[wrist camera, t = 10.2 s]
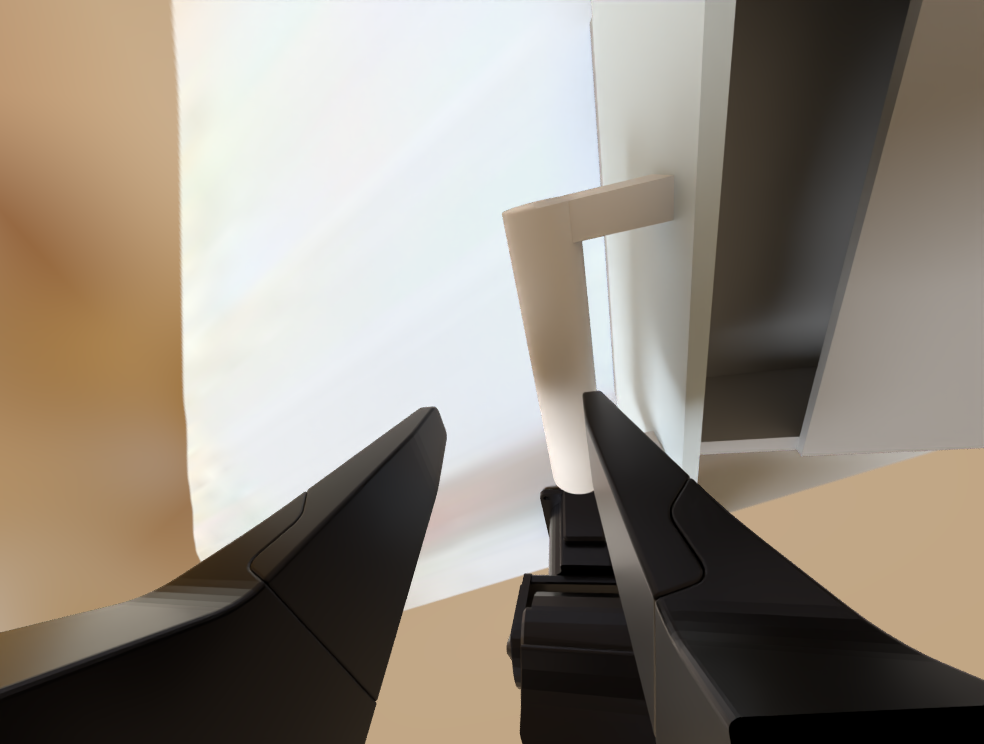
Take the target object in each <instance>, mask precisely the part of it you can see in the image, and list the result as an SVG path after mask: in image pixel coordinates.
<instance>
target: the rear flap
mask: <svg viewBox="0 0 984 744" xmlns="http://www.w3.org/2000/svg"><path fill="white" fill-rule="evenodd" d="M735 7H736V0H591V10H592V26H593V41H594V56H595V72H596V87H597V102H598V118H599V133H600V148H601V164H602V179H603V186H601V187H597V188H593V189H589V190H585V191H581V192H577V193H572V194H568V195H564V196H560V197H554V198H549V199H545V200H540V201H536V202H532V203H528V204H525V205H521V206H518V207H515V208H512V209H509V210H507V211H504V212H503V213H502V217H503V222H504V227H505V232H506V237H507V242H508V247H509V252H510V257H511V263H512V268H513V273H514V278H515V283H516V288H517V293H518V298H519V304H520V309H521V314H522V319H523V324H524V329H525V334H526V339H527V344H528V350H529V355H530V360H531V365H532V370H533V375H534V380H535V385H536V390H537V396H538V401H539V406H540V411H541V416H542V421H543V426H544V431H545V436H546V442H547V447H548V452H549V457H550V462H551V467H552V472H553V477H554V481H555V483H556V484H557V486H558V487H559V488H561V489H562V490H564V491H566V492H568V493H572V494H586V493H589V492H592V491H594V488H593V483H592V476H591V467H590V459H589V451H588V443H587V435H586V427H585V419H584V408H583V398H582V394H583V393H584V392H590V391H597V390H596V379H595V369H594V359H593V349H592V338H591V328H590V318H589V307H588V297H587V287H586V277H585V266H584V256H583V246H582V241H583V240H588V239H592V238H597V237H601V236H606V241H607V256H608V271H609V287H610V302H611V317H612V333H613V348H614V364H615V379H616V394H617V407H618V408H619V409H620V410H621V411H622V412H623V413H624V414H625V415H626V416H627V417H628V418H629V419H630V420H631V421H633V422H634V423H635V424H636V425H637V426H638V427H639V428H640V429H641V430H642V431H643V432H644V433H645V434H646V435H647V436H648V437H649V438H650V439H651V440H652V441H653V442H655V443H656V444H657V445H658V446H659V447H660V448H661V449H662V450H663V451H664V452H665V453H666V454H667V455H668V456H669V457H670V458H671V459H672V460H673V461H674V462H675V463H677V464H678V465H679V466H680V467H681V468H682V469H683V470H684V471H685V472H686V473H687V474H688V475H689V476H690V478H692V479H694V480H695V481H696V482H697V483H698V471H699V458H700V445H701V433H702V420H703V408H704V395H705V383H706V370H707V358H708V345H709V333H710V320H711V308H712V295H713V283H714V270H715V258H716V245H717V233H718V220H719V208H720V195H721V183H722V170H723V157H724V145H725V132H726V120H727V107H728V95H729V82H730V70H731V57H732V45H733V32H734V20H735Z"/></svg>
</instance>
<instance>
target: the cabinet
mask: <svg viewBox="0 0 984 744" xmlns="http://www.w3.org/2000/svg"><path fill="white" fill-rule="evenodd" d="M590 33H591V48H592V63H593V78H594V93H595V107H596V122H597V137H598V152H599V166H600V181H601V186H603V179H602V164H601V148H600V133H599V118H598V102H597V87H596V72H595V56H594V41H593V26H592V17H591V21H590ZM604 240H605V255H606V270H607V285H608V299H609V314H610V329H611V344H612V358H613V373H614V388H615V395H616V399H617V394H616V379H615V364H614V348H613V333H612V317H611V302H610V287H609V271H608V256H607V241H606V236H604ZM971 448H984V0H736V7H735V20H734V32H733V45H732V57H731V70H730V82H729V95H728V107H727V120H726V132H725V145H724V157H723V170H722V183H721V195H720V208H719V220H718V233H717V245H716V258H715V270H714V283H713V295H712V308H711V320H710V333H709V345H708V358H707V370H706V383H705V395H704V408H703V420H702V433H701V445H700V455H706V454H726V453H746V452H766V451H787V450H797V451H798V453H799V454H800V455H801V456H819V455H841V454H863V453H885V452H907V451H928V450H948V449H949V450H950V449H971Z"/></svg>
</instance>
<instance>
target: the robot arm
mask: <svg viewBox="0 0 984 744" xmlns="http://www.w3.org/2000/svg"><path fill="white" fill-rule="evenodd" d="M582 398H583V408H584V419H585V427H586V435H587V443H588V451H589V459H590V467H591V476H592V483H593V488H594V491H592V492H589V493H586V494H572V493H568V492H566V491H564V490H543V491H542V492H541V495H540V499H541V504H542V508H543V512H544V517H545V521H546V525H547V530H548V534H549V575H532V574H524V577H523V582H522V585H520V590H519V595H518V600H517V605H516V610H515V614H514V619H513V624H512V629H511V634H510V637H509V639H508V642H507V654H508V655H509V657H510V659H511V660H512V665H513V674H514V680H515V683H516V686H517V687H518V689H521V718H520V736H521V740H522V744H984V680H982V679H980V678H978V677H976V676H973V675H971V674H968V673H966V672H964V671H961V670H959V669H956V668H954V667H952V666H949V665H947V664H945V663H942V662H940V661H938V660H936V659H933V658H931V657H929V656H927V655H925V654H922V653H921V652H919V651H917V650H915V649H913V648H911V647H909V646H908V645H906V644H904V643H903V642H901V641H899V640H897V639H896V638H894V637H892V636H891V635H889V634H887V633H886V632H884V631H883V630H881V629H880V628H878V627H877V626H875V625H874V624H872V623H871V622H869V621H868V620H866V619H865V618H863V617H862V616H861V615H859V614H858V613H857V612H855V611H854V610H853V609H851V608H850V607H849V606H847V605H846V604H845V603H843V602H842V601H841V600H840V599H838V598H837V597H836V596H834V595H833V594H832V593H831V592H829V591H828V590H827V589H825V588H824V587H823V586H822V585H820V584H819V583H818V582H816V581H815V580H814V579H813V578H811V577H810V576H809V575H807V574H806V573H805V572H803V571H802V570H801V569H800V568H798V567H797V566H796V565H795V564H793V563H792V562H791V561H789V560H788V559H787V558H786V557H784V556H783V555H782V554H780V553H779V552H778V551H777V550H775V549H774V548H773V547H771V546H770V545H769V544H768V543H766V542H765V541H764V540H763V539H761V538H760V537H759V536H758V535H756V534H755V533H754V532H753V531H751V530H750V529H749V528H748V527H746V526H745V525H744V524H743V523H741V522H740V521H739V520H738V519H737V518H735V517H734V516H733V515H732V514H730V513H729V512H728V511H727V510H726V509H725V508H724V507H723V506H722V505H720V504H719V503H718V502H717V501H716V500H715V499H714V498H713V497H712V496H710V495H709V494H708V493H707V492H706V491H705V490H704V489H703V488H702V487H701V486H700V485H699V484H698V483H697V482H696V481H695V480H694V479H692V478H690V476H689V475H688V474H687V473H686V472H685V471H684V470H683V469H682V468H681V467H680V466H679V465H678V464H677V463H675V462H674V461H673V460H672V459H671V458H670V457H669V456H668V455H667V454H666V453H665V452H664V451H663V450H662V449H661V448H660V447H659V446H658V445H657V444H656V443H655V442H653V441H652V440H651V439H650V438H649V437H648V436H647V435H646V434H645V433H644V432H643V431H642V430H641V429H640V428H639V427H638V426H637V425H636V424H635V423H634V422H633V421H631V420H630V419H629V418H628V417H627V416H626V415H625V414H624V413H623V412H622V411H621V410H620V409H619V408H618V407H617V406H616V405H615V404H614V403H613V402H612V401H611V400H609V399H608V398H607V397H606V396H605V395H604V394H603V393H602V392H601V391H590V392H584V393H583V394H582ZM446 440H447V434H446V430H445V427H444V424H443V422H442V419H441V416H440V413H439V411H438V409H437V408H436V407H422V408H420V409H418V410H417V411H415V412H414V413H413V414H411V415H410V416H409V417H407V418H406V419H404V420H403V421H402V422H400V423H399V424H398V425H396V426H395V427H393V428H392V429H391V430H389V431H388V432H386V433H385V434H384V435H382V436H381V437H380V438H378V439H377V440H375V441H374V442H373V443H371V444H370V445H369V446H367V447H366V448H364V449H363V450H362V451H360V452H359V453H358V454H356V455H355V456H353V457H352V458H351V459H349V460H348V461H347V462H345V463H344V464H342V465H341V466H340V467H338V468H337V469H336V470H334V471H333V472H331V473H330V474H329V475H327V476H326V477H325V478H323V479H322V480H320V481H319V482H318V483H316V484H315V485H314V486H312V487H311V488H309V489H308V491H307V492H304V493H302V494H301V495H300V496H298V497H297V498H296V499H294V500H293V501H291V502H290V503H289V504H287V505H286V506H284V507H283V508H282V509H280V510H279V511H277V512H276V513H274V514H273V515H272V516H270V517H269V518H267V519H266V520H264V521H263V522H261V523H260V524H258V525H257V526H255V527H254V528H252V529H251V530H249V531H248V532H246V533H245V534H243V535H242V536H240V537H239V538H237V539H236V540H234V541H233V542H231V543H230V544H228V545H226V546H225V547H223V548H222V549H220V550H219V551H217V552H216V553H214V554H213V555H211V556H210V557H208V558H206V559H205V560H203V561H202V562H200V563H199V564H198V565H196V566H194V567H193V568H191V569H190V570H188V571H187V572H185V573H184V574H182V575H180V576H179V577H177V578H176V579H174V580H172V581H171V582H169V583H167V584H166V585H164V586H162V587H160V588H158V589H156V590H154V591H152V592H150V593H148V594H145V595H143V596H141V597H138V598H135V599H132V600H129V601H126V602H123V603H119V604H116V605H112V606H108V607H103V608H100V609H96V610H91V611H87V612H83V613H79V614H75V615H70V616H66V617H62V618H58V619H54V620H50V621H46V622H42V623H38V624H34V625H29V626H25V627H21V628H17V629H13V630H9V631H5V632H0V744H365V741H366V738H367V734H368V731H369V727H370V724H371V721H372V717H373V713H374V710H375V707H376V702H375V701H376V700H377V699H378V696H379V692H380V689H381V685H382V682H383V678H384V675H385V671H386V668H387V664H388V661H389V658H390V654H391V651H392V647H393V644H394V640H395V637H396V633H397V630H398V627H399V623H400V619H401V616H402V613H403V609H404V606H405V602H406V599H407V596H408V592H409V589H410V585H411V582H412V578H413V575H414V571H415V568H416V565H417V561H418V558H419V554H420V551H421V547H422V544H423V540H424V537H425V533H426V530H427V527H428V523H429V520H430V516H431V513H432V509H433V506H434V502H435V499H436V495H437V491H438V486H439V481H440V475H441V469H442V464H443V458H444V452H445V446H446Z"/></svg>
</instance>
